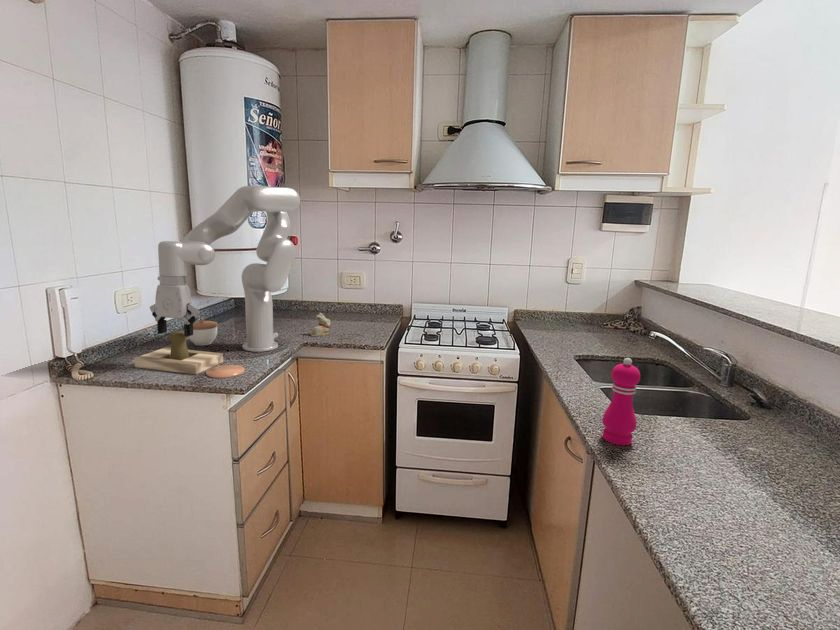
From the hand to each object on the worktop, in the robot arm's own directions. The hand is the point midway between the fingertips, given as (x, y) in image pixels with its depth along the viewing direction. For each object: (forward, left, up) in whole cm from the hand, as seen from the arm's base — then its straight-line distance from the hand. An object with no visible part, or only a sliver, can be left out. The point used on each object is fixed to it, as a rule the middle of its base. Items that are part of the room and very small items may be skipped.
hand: (175, 334), depth 140 cm
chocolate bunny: (-52, +26, -11) cm, 59 cm away
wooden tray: (-1, 0, -10) cm, 10 cm away
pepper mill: (+15, +131, -11) cm, 132 cm away
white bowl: (-25, -10, -11) cm, 29 cm away
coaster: (+1, +18, -10) cm, 21 cm away
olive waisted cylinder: (-1, 0, -11) cm, 11 cm away
